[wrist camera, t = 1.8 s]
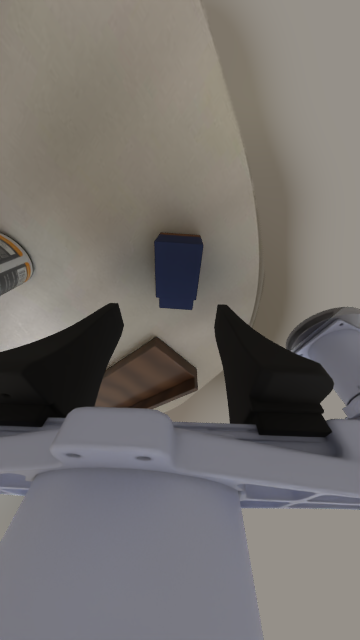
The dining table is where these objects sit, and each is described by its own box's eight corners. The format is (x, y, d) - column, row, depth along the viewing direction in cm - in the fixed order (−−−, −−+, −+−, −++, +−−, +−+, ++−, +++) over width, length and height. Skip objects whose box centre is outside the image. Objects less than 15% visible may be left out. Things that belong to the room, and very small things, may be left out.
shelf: (156, 336, 25) (152, 357, 22) (196, 369, 30) (198, 390, 26) (51, 406, 40) (39, 424, 37) (88, 421, 44) (80, 438, 41)
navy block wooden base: (160, 232, 17) (154, 240, 13) (200, 235, 17) (203, 244, 14) (161, 298, 21) (156, 316, 18) (192, 300, 21) (193, 318, 18)
